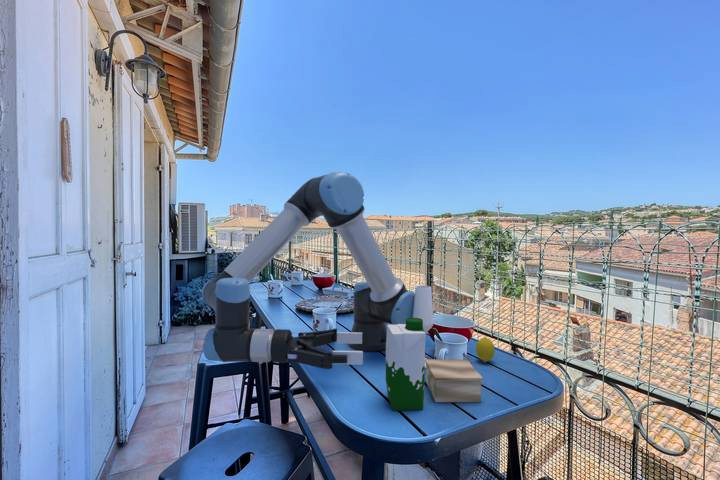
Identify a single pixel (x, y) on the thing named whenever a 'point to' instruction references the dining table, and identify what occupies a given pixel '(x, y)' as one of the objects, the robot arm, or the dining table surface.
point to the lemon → (485, 349)
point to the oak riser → (453, 380)
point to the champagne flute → (423, 307)
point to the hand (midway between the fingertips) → (362, 347)
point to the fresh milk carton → (405, 365)
